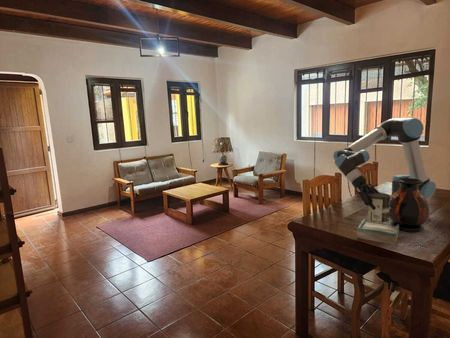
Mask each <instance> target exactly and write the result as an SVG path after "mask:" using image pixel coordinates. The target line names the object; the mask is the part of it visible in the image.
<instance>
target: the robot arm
mask: <svg viewBox="0 0 450 338" xmlns="http://www.w3.org/2000/svg"><path fill="white" fill-rule="evenodd" d="M423 133H424V124H423V122H422V121H421V120H420V119H418V118H415V117H401V118H400V117H395V118H394V117H393V118H390V119H387V120H385V121H383V122H382V123H380V124H378V125H376V126H375V127H374V128H373V130H371V131H370V132H369V133H366V134H364V136H362V137H360V138H359V139H357V140H356V141H354V142H352V143H351V144H349V145H347V146H346V147H345V148H343V149H336V150H335V151H334V153H333V156H332V157H333V160H334V164H335V166H336V168H337V169H338V170H339V171H340V172H341V173H342V174H343V176H344V177H345V178H346V180H347V181H349V182H350V183H351V185H352V186H353V188H354V189H355V191H356V192H357V194H358V196H359V197H360V198H361V200H362V202H363V203H364V205H365V206H366V207H368V206H370V207H371V208H372V209H373V211H374V212H375V213H376V214H377V215H380V214H381V213H382V212H381V210H380V209H379V208H378V207H377V206H376V205H375V203H374V202H373V203H372V200H371V198H370V196H369V194H370V193H381V192H380V191H379V190H377V189H376V188H375V187H374V185H373V184H371V183H369V184H367V181H368V180H367V178H366V177H365V176H364V175H362V173H361V172H360V170H359V169H358V167H359V166H361V165H363V164H366V163H367V162H368V161H369V160H370V158H371V156H370V153H369V152H368V151H367V149H368V148H370V147H371V146H373V145H375V144H376V143H378V142H379V141H381V140H386V139H387V138H391V137H395V138H397V140H398V143H400V144H401V145H402V148H403V152H404V157H405V161H406V166H407V170H408V174H395V175H393V176H392V179H391V196H392V195H393V194H394V193H395V192H397V191H398V190H399V188H400V183H398V182H396V180H397V179H399V178H413V179H419V180H422V181H423V183H422V184H420V185H419V186H418V190H419V191H420V193H421V194H422V195H423V196H424V197H425V198H426V199H427V200H429V199H430V198H431V197H432V196H433V195H434V194H435V192H436V190H437V189H436V188H437V185H436V183H435V181H433V180H431V179H430V176H429V174H426V169H425V165H424V161H423V156H422V153H421V148H420V143H419V140H420V139H421V136H422V135H423ZM389 209H391V208H390V206H389Z"/></svg>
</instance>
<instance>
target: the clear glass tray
mask: <svg viewBox="0 0 450 338" xmlns="http://www.w3.org/2000/svg"><path fill="white" fill-rule="evenodd" d="M356 230H357V231H356V238H357V239H362V240H367V241H372V242H379V243H383V244H390V245H396V244H397V241H398V238H399V235H400V230H399V224H397V226H396V227H395V226H391V225H388V224H383V223H374V222H366V219H362V221H361V222H360V224H359V225H358V227H357V228H356Z"/></svg>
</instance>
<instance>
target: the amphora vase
mask: <svg viewBox="0 0 450 338" xmlns="http://www.w3.org/2000/svg"><path fill="white" fill-rule="evenodd" d="M396 182H398V183H400V188H399V190H398V191H397V192H395V193H394V194H393V195H392V194H391V195H390V208H391V209H389V220H391V221H390V225H389V226H395V227H396V226H397V224H399V231H401V232H406V233H418V232H422V231H423V230H424V228H425V227H424V224H426V223H427V222H428V221H429V219H430V217H431V213H432V212H431V206H430V203H429V201H428V199H426V198H425V197H424V196H423V195H422V194H421V193H420V191H419V190H418V186H419V185H420V184H422V183H423V181H422V180H419V179H413V178H399V179H397V180H396Z"/></svg>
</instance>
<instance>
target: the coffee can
mask: <svg viewBox="0 0 450 338" xmlns="http://www.w3.org/2000/svg"><path fill="white" fill-rule="evenodd" d="M369 196H370V198H371V200H372V203H373V202H374V203H375V205H376V206H377V207H378V208H379V209H380V210H381V212H382V213H381V214H380V215H377V214H376V213H375V212H374V211H373V209H372V208H371V207H370V206H367V207H368V208H367V211H368V212H367V221H369V222H370V223H375V224H387V223H389V222H390V218H389V206H390V197H391V195H390V194H388V193H384V192H380V193H370V194H369Z"/></svg>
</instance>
